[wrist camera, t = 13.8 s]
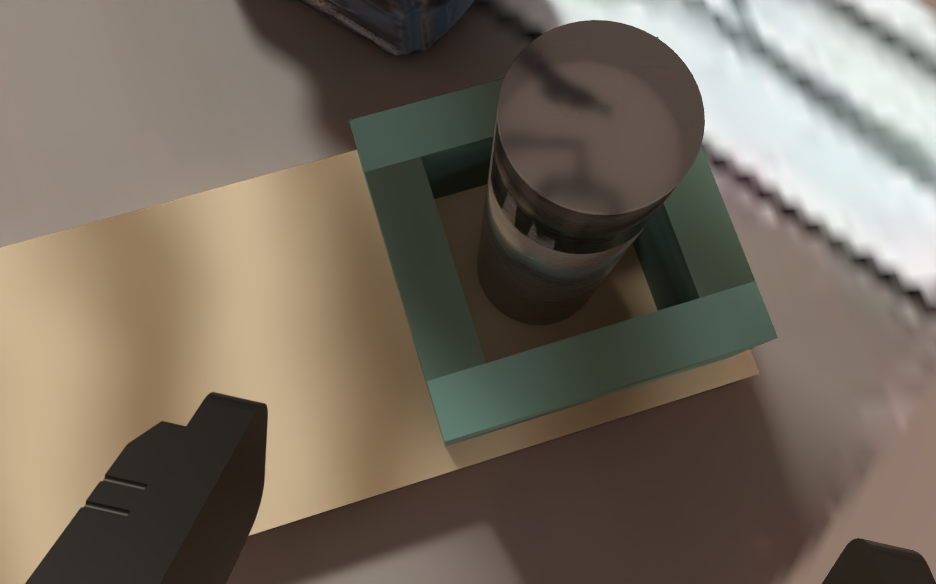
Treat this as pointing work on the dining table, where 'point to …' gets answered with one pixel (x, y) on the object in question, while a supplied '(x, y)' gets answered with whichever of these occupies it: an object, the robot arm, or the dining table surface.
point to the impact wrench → (395, 20)
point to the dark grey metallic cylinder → (581, 163)
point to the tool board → (344, 327)
